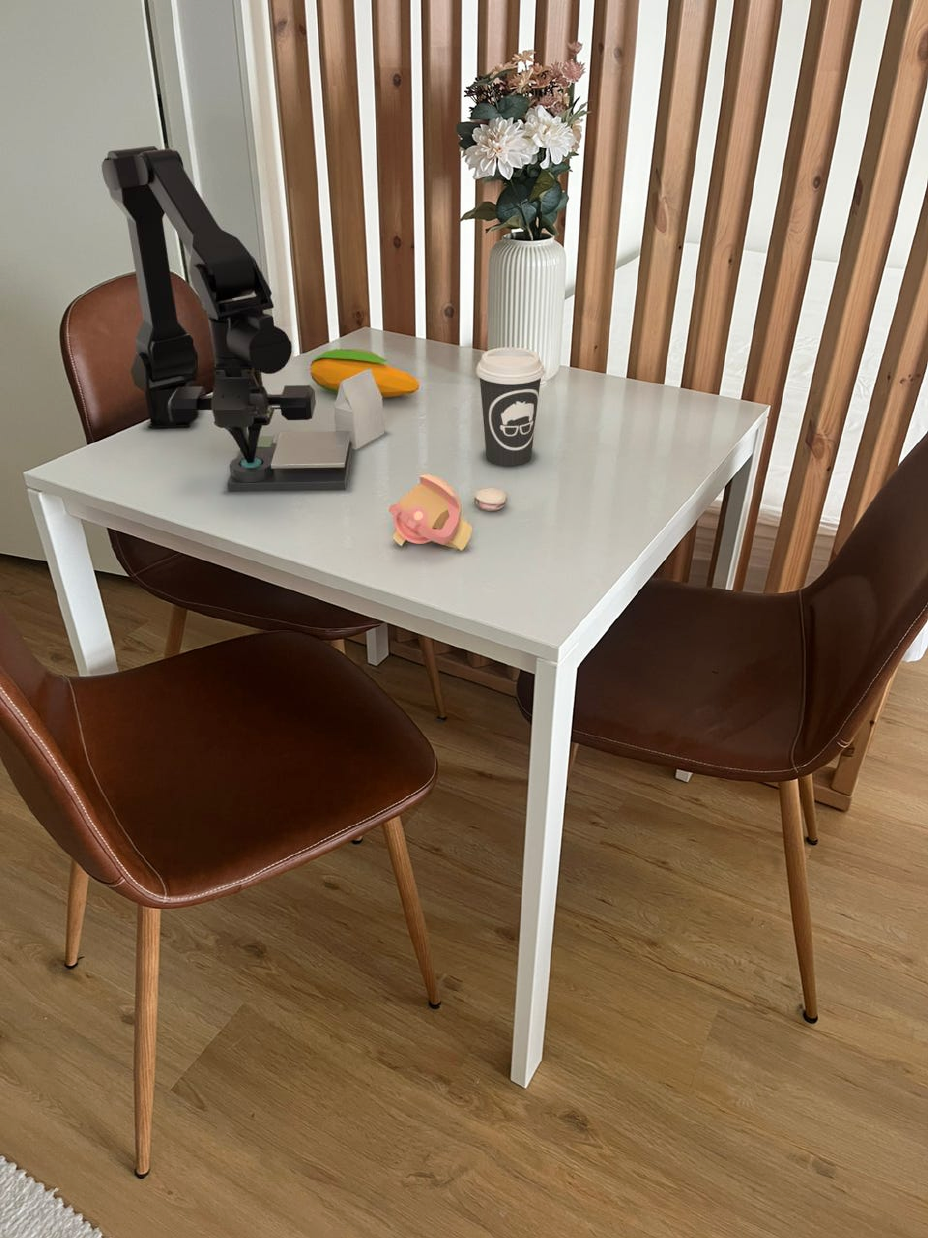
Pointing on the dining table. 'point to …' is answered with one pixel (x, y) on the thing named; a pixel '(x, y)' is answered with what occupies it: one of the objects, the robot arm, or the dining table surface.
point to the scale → (285, 475)
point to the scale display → (265, 441)
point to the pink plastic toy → (430, 515)
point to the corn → (349, 363)
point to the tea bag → (359, 409)
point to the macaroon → (490, 498)
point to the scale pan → (311, 449)
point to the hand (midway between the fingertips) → (251, 461)
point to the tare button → (256, 463)
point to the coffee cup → (509, 403)
